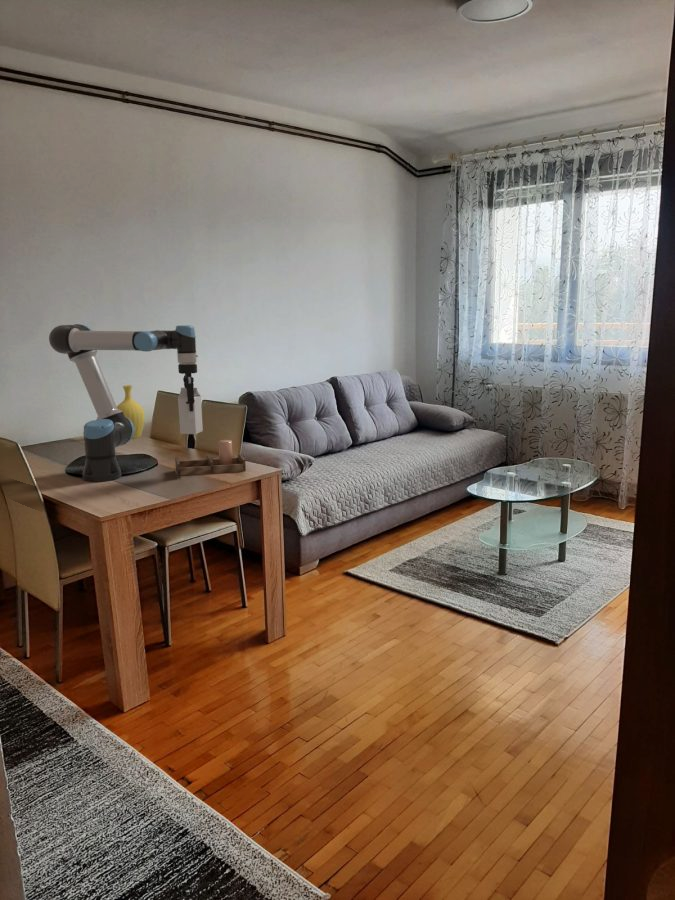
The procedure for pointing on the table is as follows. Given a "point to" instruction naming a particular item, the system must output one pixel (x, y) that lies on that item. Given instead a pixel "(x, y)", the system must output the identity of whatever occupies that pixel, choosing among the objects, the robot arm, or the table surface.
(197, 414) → the milk carton
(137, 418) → the vase
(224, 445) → the canister
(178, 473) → the rack
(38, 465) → the table surface
